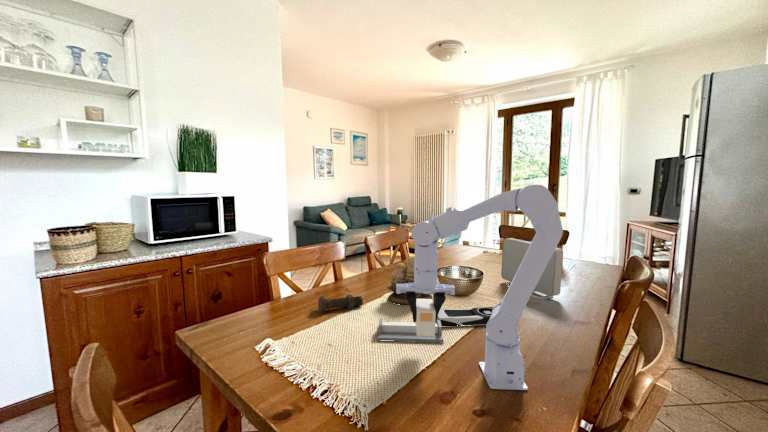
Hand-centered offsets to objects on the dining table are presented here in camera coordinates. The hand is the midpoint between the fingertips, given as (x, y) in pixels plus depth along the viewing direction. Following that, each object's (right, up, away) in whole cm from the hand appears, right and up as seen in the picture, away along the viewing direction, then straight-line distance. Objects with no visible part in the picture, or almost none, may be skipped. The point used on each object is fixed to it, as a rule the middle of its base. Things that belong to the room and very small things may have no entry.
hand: (424, 320), depth 79 cm
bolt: (-25, -6, +28) cm, 38 cm away
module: (0, -2, 0) cm, 2 cm away
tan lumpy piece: (0, -5, +38) cm, 38 cm away
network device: (+49, -4, +49) cm, 70 cm away
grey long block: (-3, -8, +11) cm, 14 cm away
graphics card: (+18, -8, +21) cm, 28 cm away
